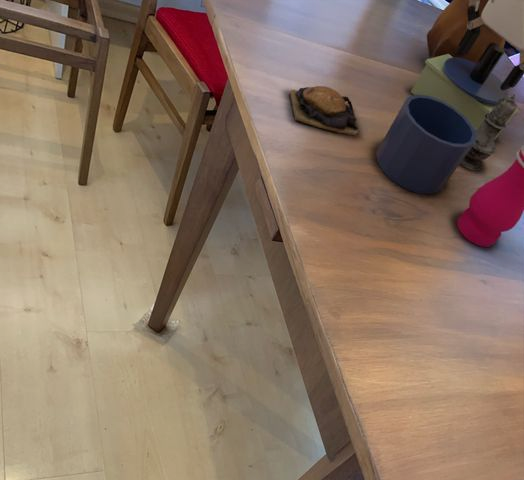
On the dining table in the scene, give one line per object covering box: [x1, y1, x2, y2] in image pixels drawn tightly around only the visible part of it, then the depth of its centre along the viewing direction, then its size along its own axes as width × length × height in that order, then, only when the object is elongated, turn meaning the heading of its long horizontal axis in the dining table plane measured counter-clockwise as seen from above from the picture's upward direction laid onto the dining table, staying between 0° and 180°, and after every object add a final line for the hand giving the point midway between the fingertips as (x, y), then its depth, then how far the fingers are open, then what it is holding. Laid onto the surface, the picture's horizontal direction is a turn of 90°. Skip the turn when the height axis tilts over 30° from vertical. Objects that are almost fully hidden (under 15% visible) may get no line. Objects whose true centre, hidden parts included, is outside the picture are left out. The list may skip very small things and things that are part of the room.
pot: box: [375, 94, 477, 195], centre depth 82 cm, size 11×11×8 cm
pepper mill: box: [456, 144, 524, 248], centre depth 74 cm, size 7×7×20 cm
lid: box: [443, 42, 509, 104], centre depth 93 cm, size 12×12×7 cm
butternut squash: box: [426, 0, 506, 63], centre depth 100 cm, size 14×13×25 cm
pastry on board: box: [289, 85, 359, 136], centre depth 85 cm, size 11×8×4 cm
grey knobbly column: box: [459, 93, 517, 171], centre depth 88 cm, size 6×6×12 cm
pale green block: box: [410, 54, 521, 141], centre depth 98 cm, size 17×8×6 cm, turn 44°
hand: (482, 71), depth 93 cm, fingers open, 9 cm apart
